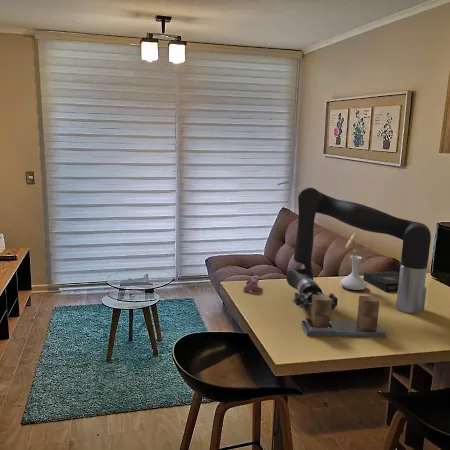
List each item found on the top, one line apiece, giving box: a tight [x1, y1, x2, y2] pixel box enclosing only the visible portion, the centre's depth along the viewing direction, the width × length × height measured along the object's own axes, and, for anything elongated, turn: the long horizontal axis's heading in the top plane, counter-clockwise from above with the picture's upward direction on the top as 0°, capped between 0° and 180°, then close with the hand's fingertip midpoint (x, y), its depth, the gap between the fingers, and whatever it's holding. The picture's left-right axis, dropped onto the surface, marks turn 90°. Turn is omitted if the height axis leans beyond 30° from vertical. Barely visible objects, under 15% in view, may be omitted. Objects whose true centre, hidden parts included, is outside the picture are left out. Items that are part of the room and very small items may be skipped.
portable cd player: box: [362, 270, 400, 293], centre depth 208 cm, size 16×17×4 cm
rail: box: [301, 317, 387, 338], centre depth 156 cm, size 26×9×2 cm, turn 93°
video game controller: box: [242, 274, 261, 293], centre depth 195 cm, size 10×5×7 cm, turn 170°
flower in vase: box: [339, 232, 368, 291], centre depth 199 cm, size 13×11×25 cm
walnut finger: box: [310, 294, 332, 328], centre depth 154 cm, size 5×5×10 cm
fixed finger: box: [356, 295, 381, 330], centre depth 155 cm, size 5×5×10 cm
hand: (320, 307), depth 154 cm, fingers open, 8 cm apart
